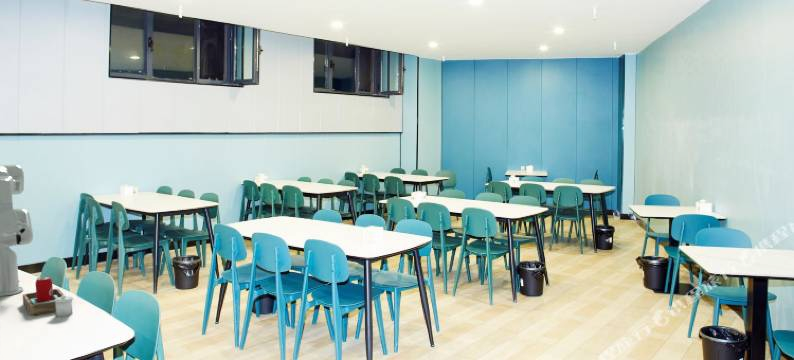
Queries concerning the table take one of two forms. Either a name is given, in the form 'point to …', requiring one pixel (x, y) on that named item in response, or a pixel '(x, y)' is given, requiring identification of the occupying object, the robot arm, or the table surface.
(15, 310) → the table surface
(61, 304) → the sugar pot
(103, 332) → the table surface
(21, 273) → the table surface
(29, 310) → the caddy
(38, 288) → the beverage can
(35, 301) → the socket
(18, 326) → the table surface
